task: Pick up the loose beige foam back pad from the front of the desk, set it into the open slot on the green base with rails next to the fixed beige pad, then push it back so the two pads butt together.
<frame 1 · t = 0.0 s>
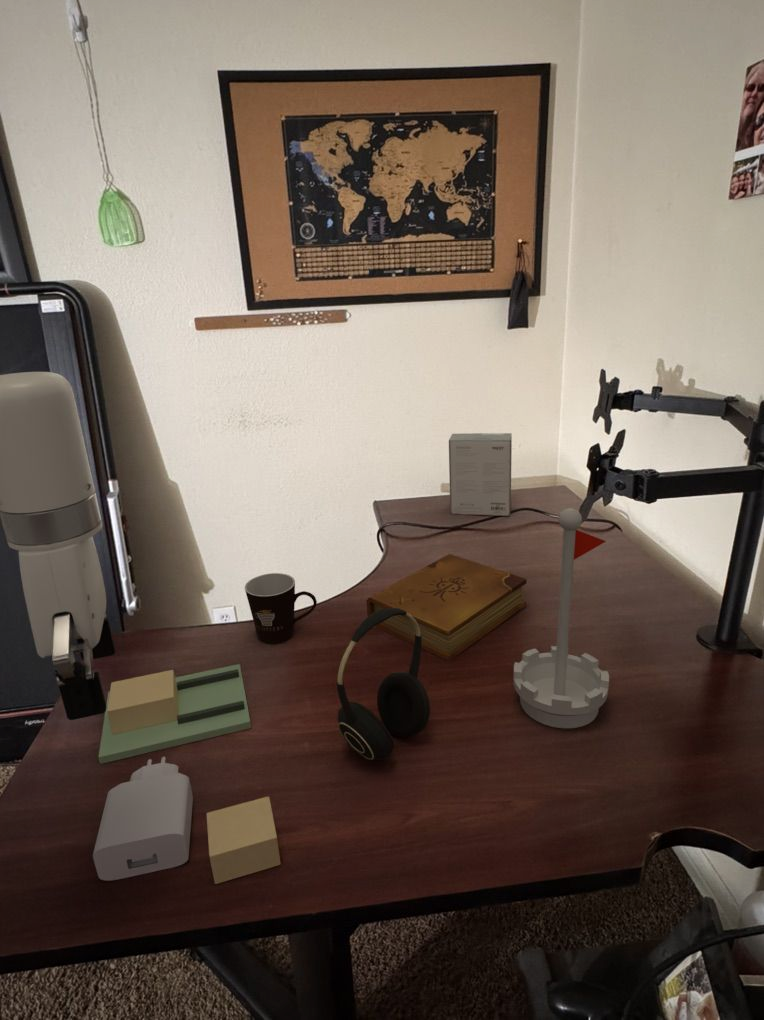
hand: (93, 683, 61), 24 cm above the table, tool pointing down, fingers open, 9 cm apart
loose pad: (245, 851, 70), on the table
charger: (153, 820, 75), on the table
hard drive box: (480, 511, 165), on the table
diary: (447, 615, 116), on the table
coffee mug: (282, 637, 111), on the table
flag stand: (558, 703, 91), on the table
headphones: (386, 743, 85), on the table
green base with rails: (177, 712, 93), on the table
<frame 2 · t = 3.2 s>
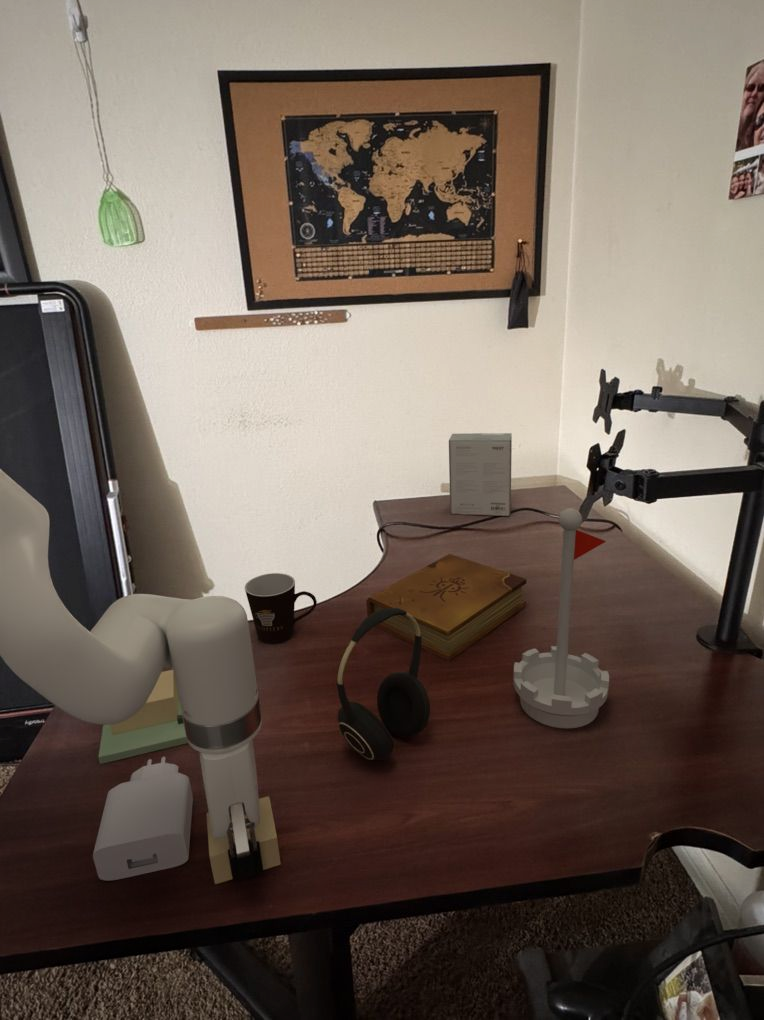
hand: (244, 848, 70), 1 cm above the table, tool pointing down, fingers closed on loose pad, 6 cm apart
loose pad: (245, 851, 70), on the table, touching gripper
everything else where it was.
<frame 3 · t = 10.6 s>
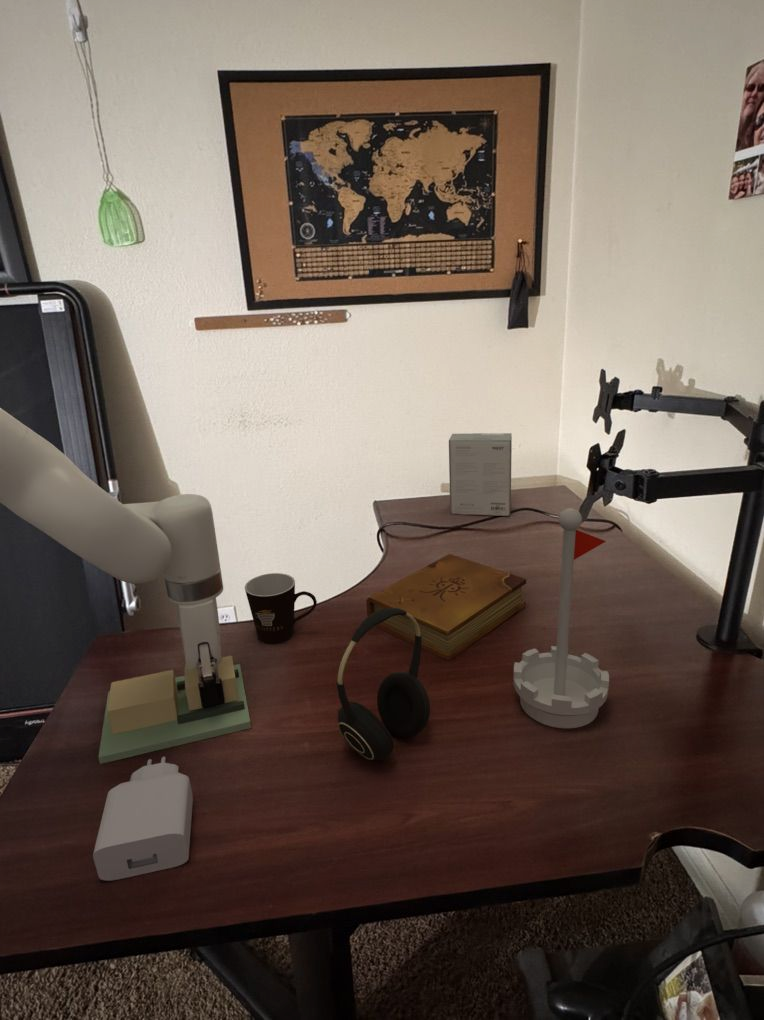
hand: (212, 690, 93), 3 cm above the table, tool pointing down, fingers closed on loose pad, 6 cm apart
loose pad: (213, 693, 94), point 2 cm above the table, touching gripper
everything else where it was.
when the fingers open (3 cm above the table, at t = 17.2 s): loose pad drops 1 cm, resting on green base with rails.
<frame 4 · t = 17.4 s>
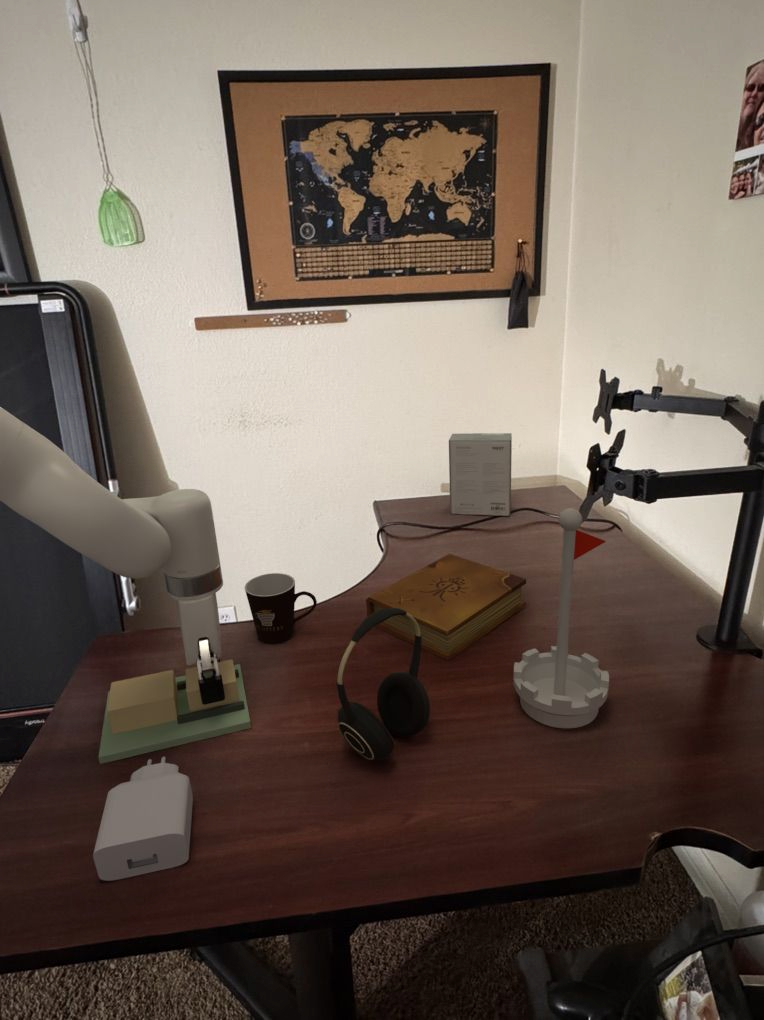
hand: (212, 683, 93), 4 cm above the table, tool pointing down, fingers open, 7 cm apart
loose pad: (214, 697, 94), point 1 cm above the table, touching green base with rails
everything else where it was.
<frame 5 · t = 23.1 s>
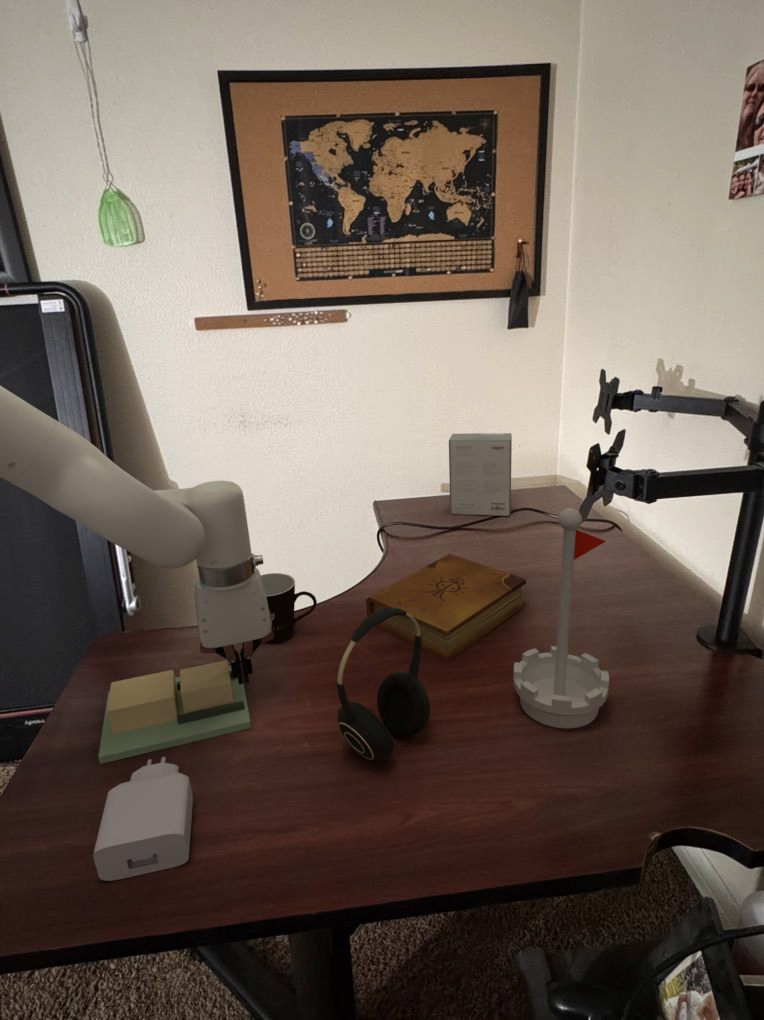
hand: (243, 678, 95), 3 cm above the table, tool pointing down, fingers closed
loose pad: (208, 698, 94), point 1 cm above the table, touching gripper
everything else where it was.
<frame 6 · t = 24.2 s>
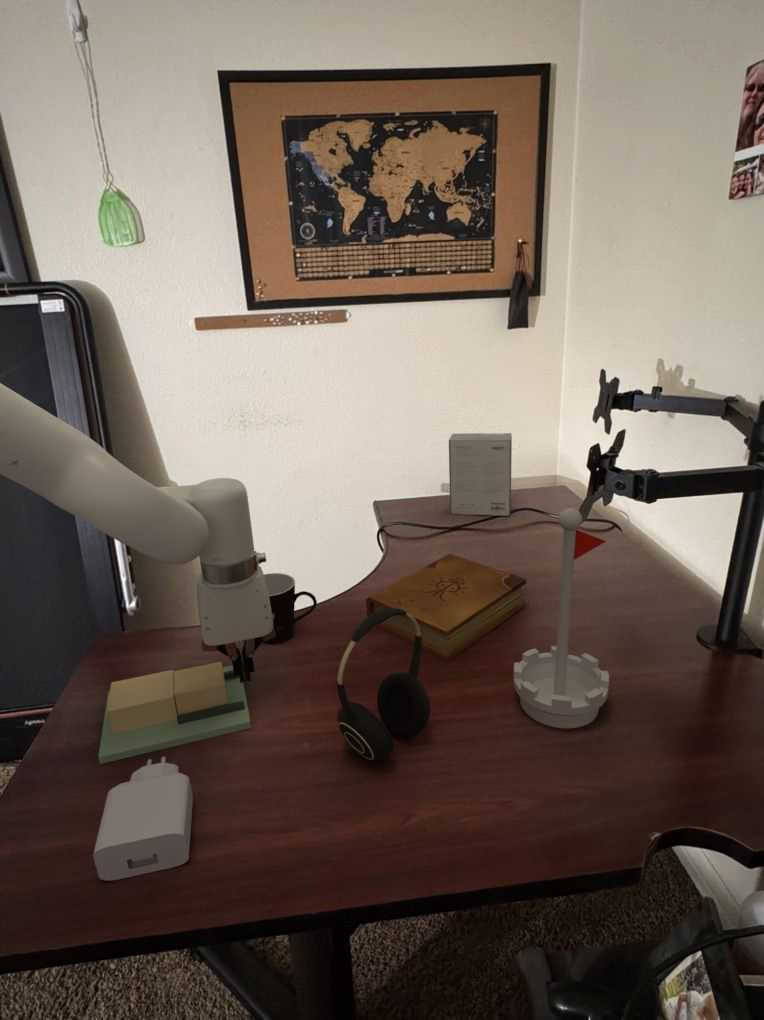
hand: (244, 676, 94), 4 cm above the table, tool pointing down, fingers closed
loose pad: (202, 699, 94), point 1 cm above the table, touching green base with rails
everything else where it was.
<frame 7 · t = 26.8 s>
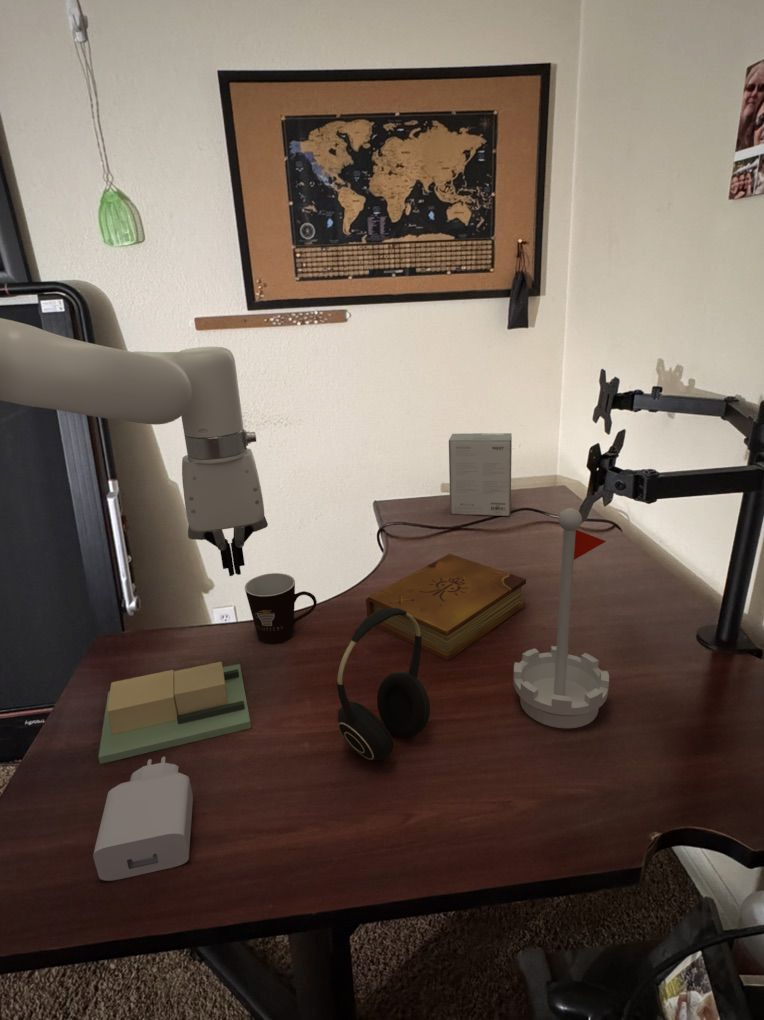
hand: (234, 571, 88), 21 cm above the table, tool pointing down, fingers closed
nothing on the table moved.
at the end: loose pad 0.2 cm from the target spot on the green base with rails, point 1.2 cm above the green base with rails's base; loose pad tilted 0°; the gripper is holding nothing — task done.
